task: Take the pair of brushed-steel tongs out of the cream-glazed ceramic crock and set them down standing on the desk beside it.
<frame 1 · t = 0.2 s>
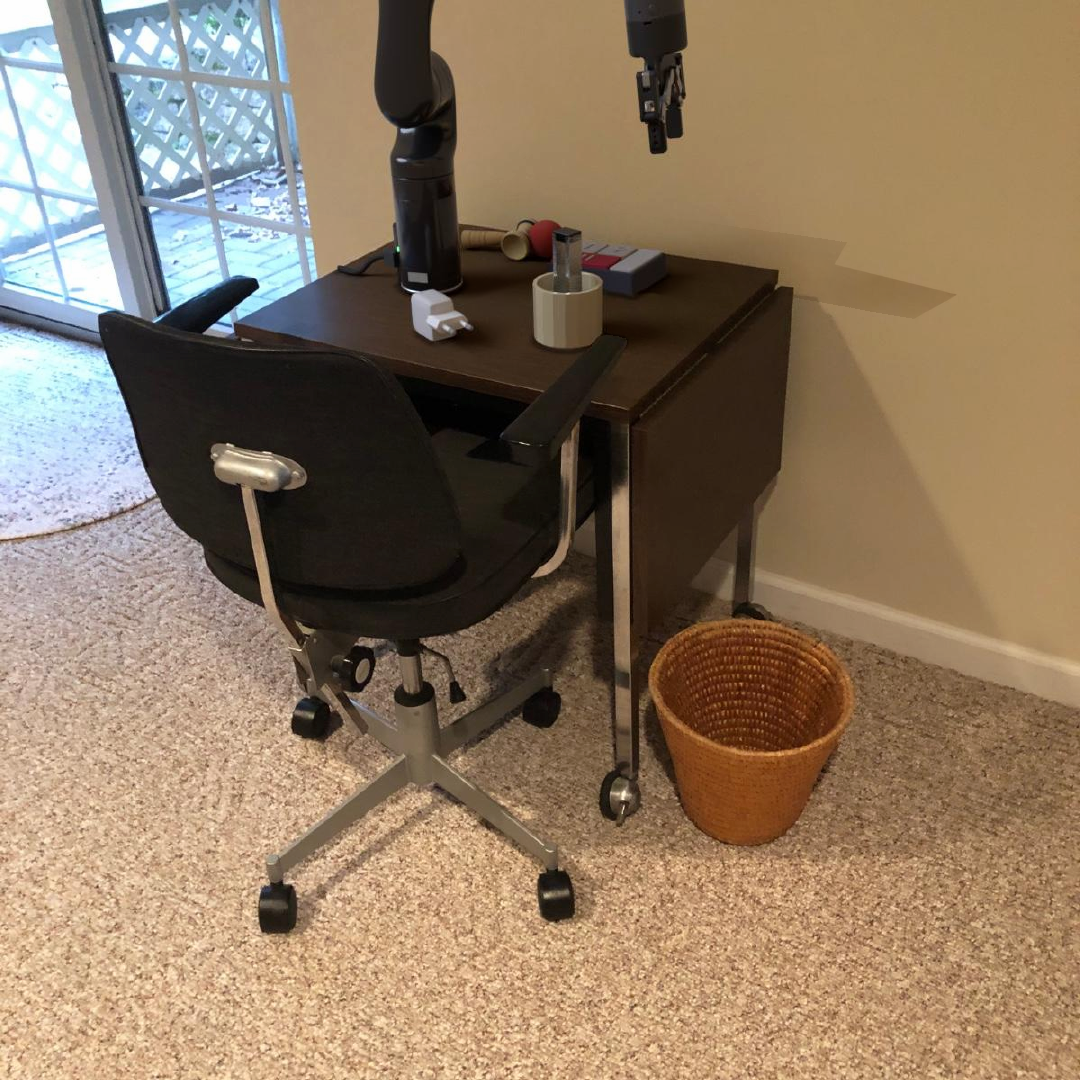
hand: (667, 145, 143), 22 cm above the table, tool pointing down, fingers open, 8 cm apart
crock: (568, 338, 146), on the table
calculator: (606, 280, 166), on the table
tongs: (568, 334, 146), point 1 cm above the table, touching crock
power adapter: (444, 343, 146), on the table
kendama: (512, 254, 177), on the table
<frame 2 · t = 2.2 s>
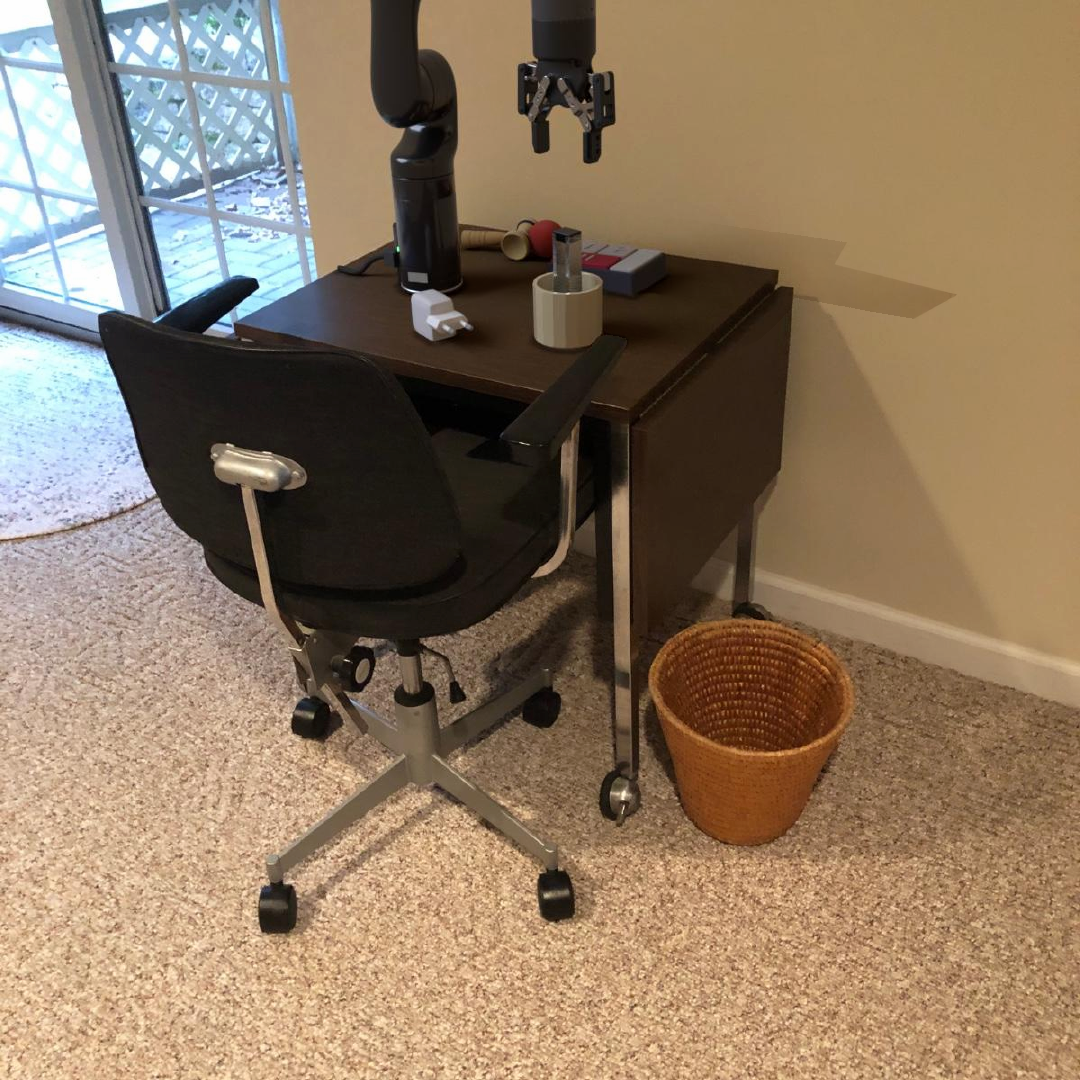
hand: (565, 157, 133), 24 cm above the table, tool pointing down, fingers open, 8 cm apart
nothing on the table moved.
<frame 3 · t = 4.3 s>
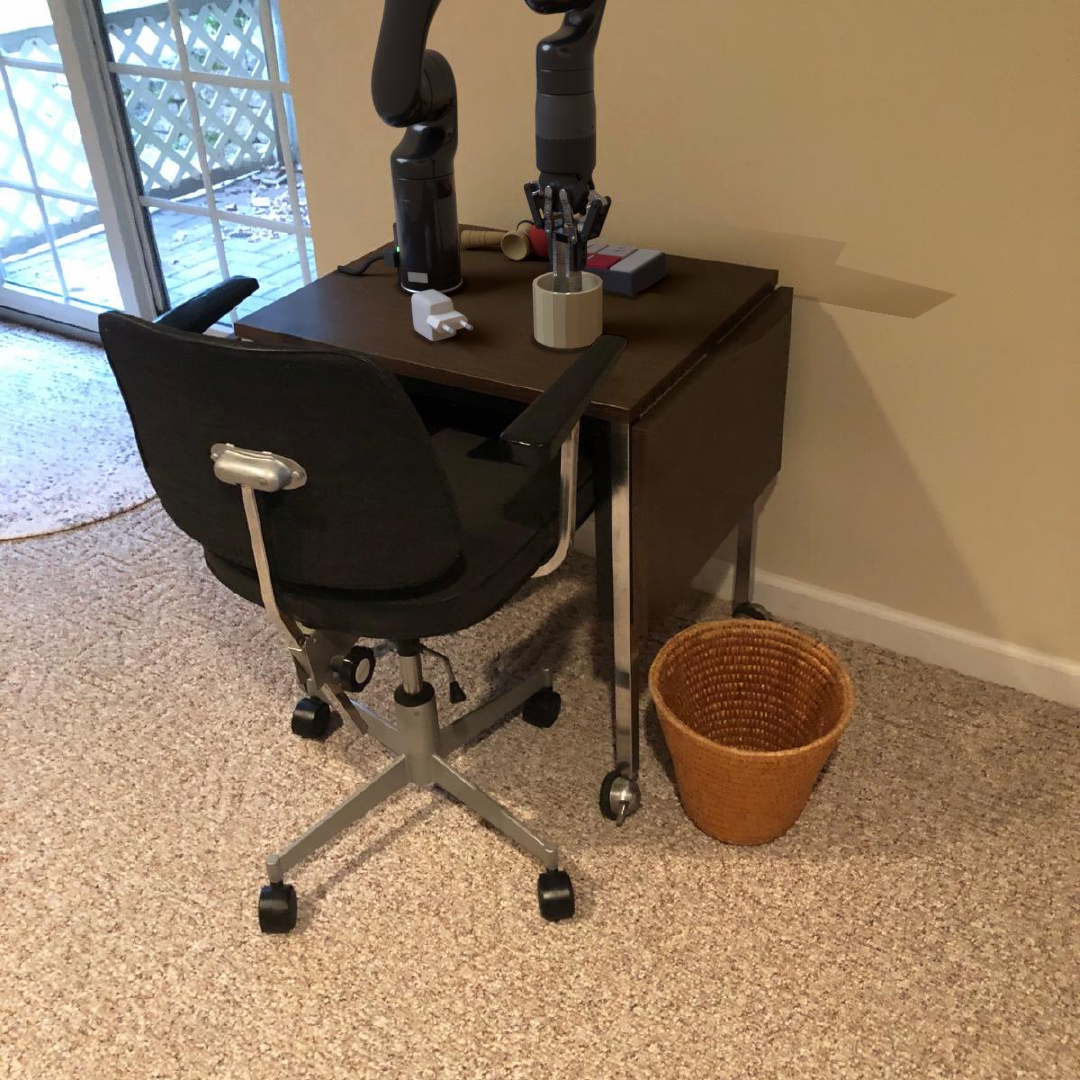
hand: (567, 266, 141), 10 cm above the table, tool pointing down, fingers closed on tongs, 3 cm apart
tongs: (568, 334, 146), point 1 cm above the table, touching crock, gripper
everything else where it was.
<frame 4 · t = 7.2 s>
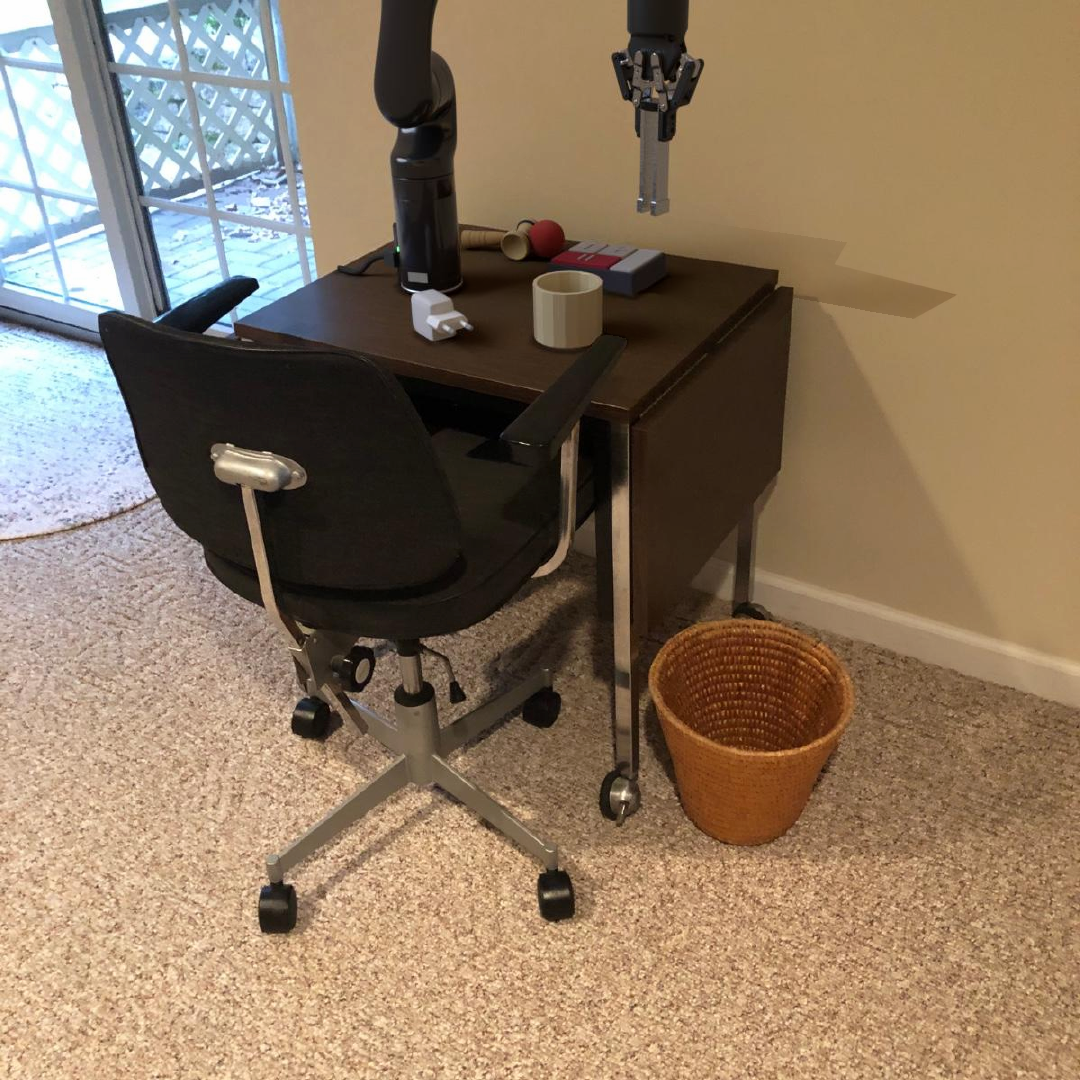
hand: (654, 138, 139), 24 cm above the table, tool pointing down, fingers closed on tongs, 3 cm apart
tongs: (653, 212, 144), point 15 cm above the table, touching gripper
everything else where it was.
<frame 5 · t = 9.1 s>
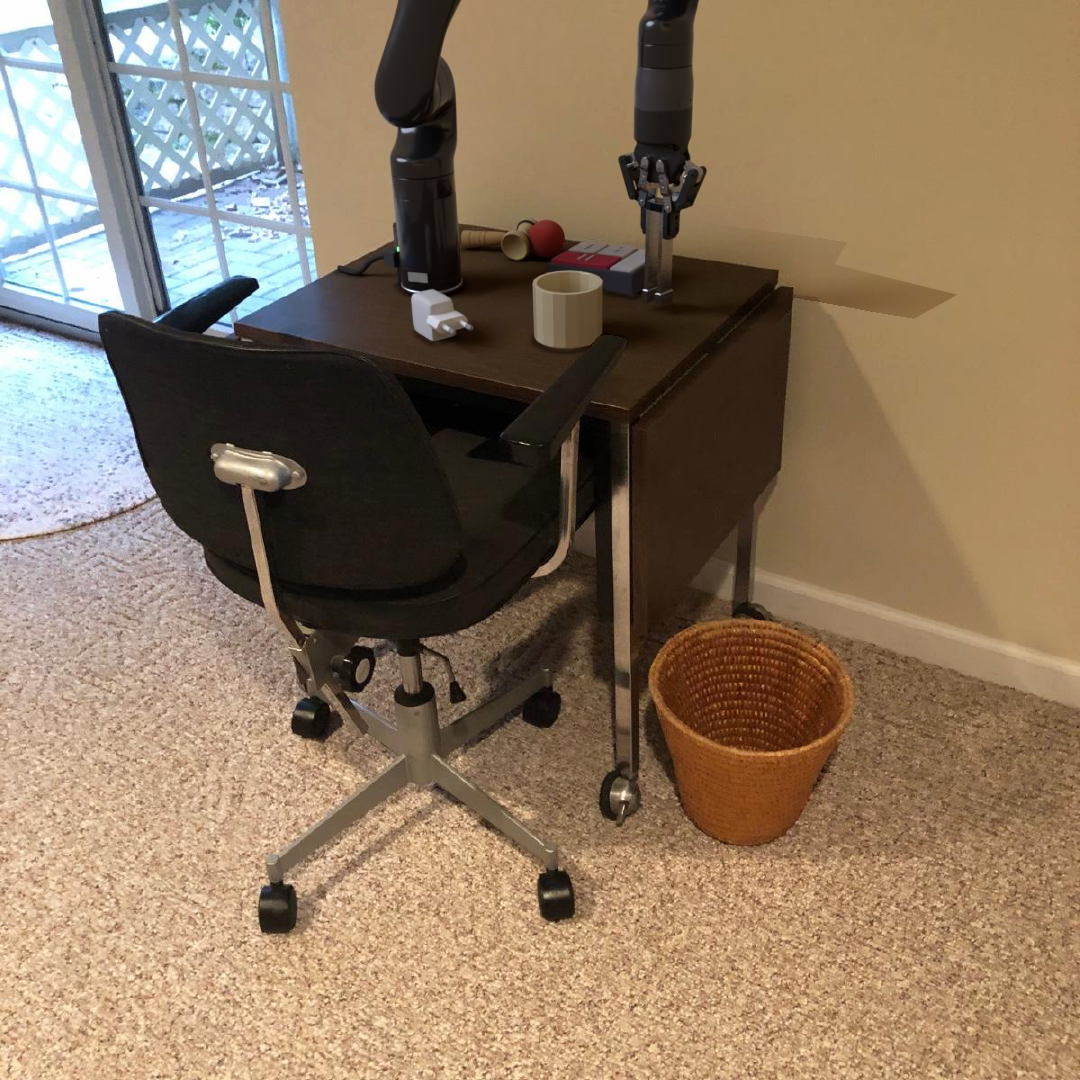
hand: (659, 235, 147), 11 cm above the table, tool pointing down, fingers closed on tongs, 3 cm apart
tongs: (657, 301, 152), point 2 cm above the table, touching gripper
everything else where it was.
when the fingers open (10 cm above the table, at t = 10.2 s): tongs stays where it is, on the table.
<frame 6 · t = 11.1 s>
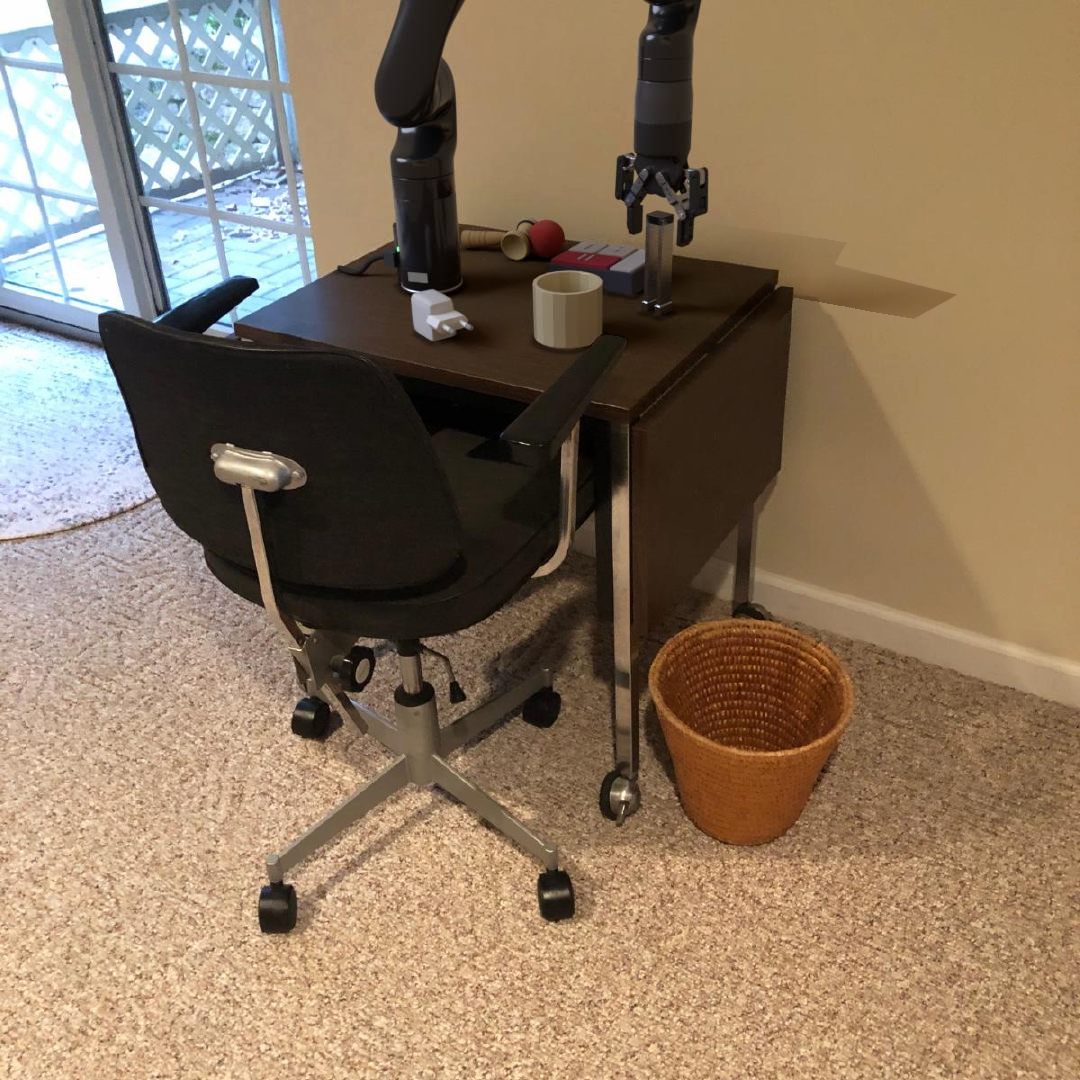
hand: (658, 239, 147), 11 cm above the table, tool pointing down, fingers open, 8 cm apart
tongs: (656, 313, 153), on the table
everything else where it was.
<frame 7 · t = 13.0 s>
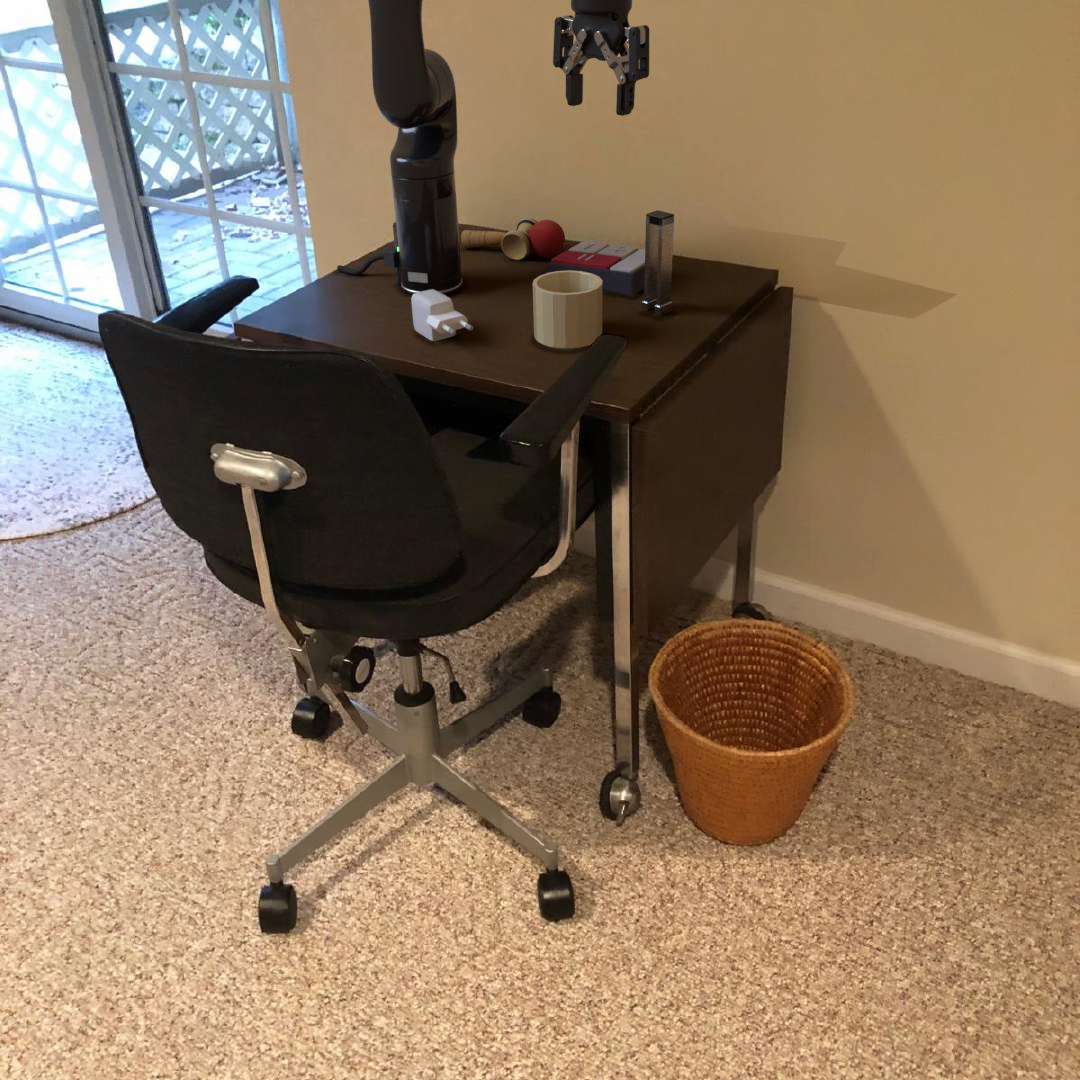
hand: (598, 109, 138), 28 cm above the table, tool pointing down, fingers open, 8 cm apart
nothing on the table moved.
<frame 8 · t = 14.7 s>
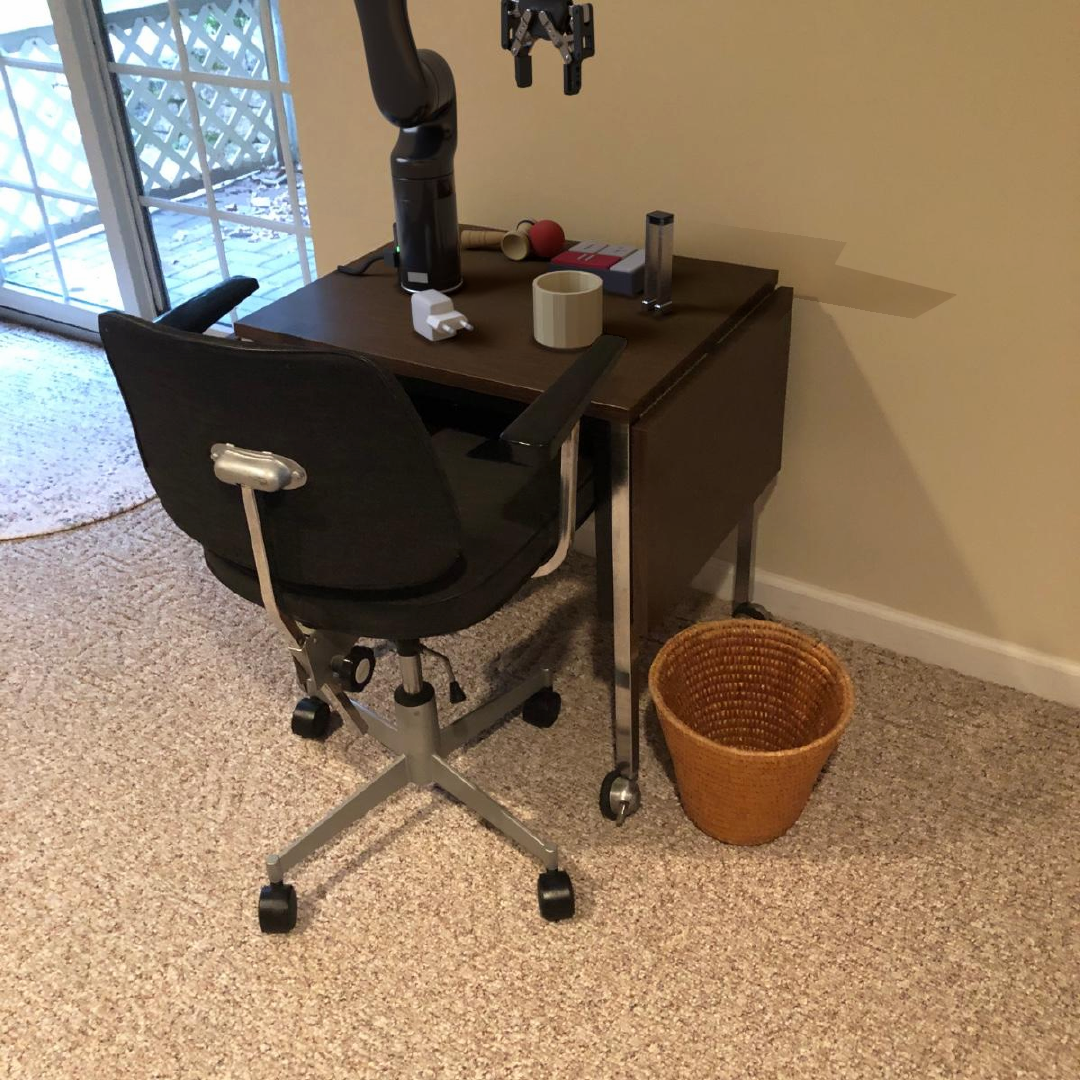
hand: (547, 90, 137), 30 cm above the table, tool pointing down, fingers open, 8 cm apart
nothing on the table moved.
at the end: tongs inside the target area (0.0 cm from its centre), on the table; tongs touching table; the gripper is holding nothing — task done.
